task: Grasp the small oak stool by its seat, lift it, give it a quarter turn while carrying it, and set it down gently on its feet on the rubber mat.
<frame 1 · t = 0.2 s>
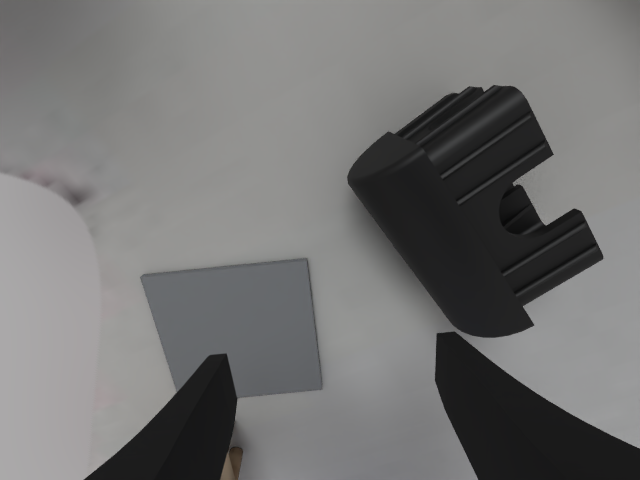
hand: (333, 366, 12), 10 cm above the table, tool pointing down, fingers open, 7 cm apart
mat: (239, 334, 24), on the table
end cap: (437, 195, 21), on the table
stool: (208, 437, 27), on the table
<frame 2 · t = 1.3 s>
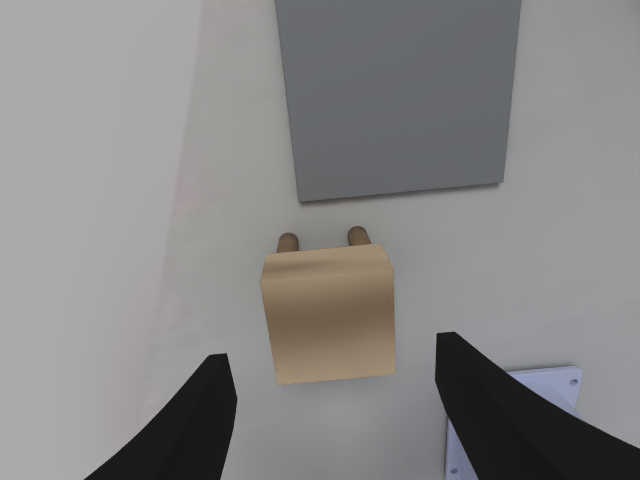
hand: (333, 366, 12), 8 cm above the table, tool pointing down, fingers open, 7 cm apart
mat: (397, 80, 16), on the table
stool: (325, 269, 19), on the table
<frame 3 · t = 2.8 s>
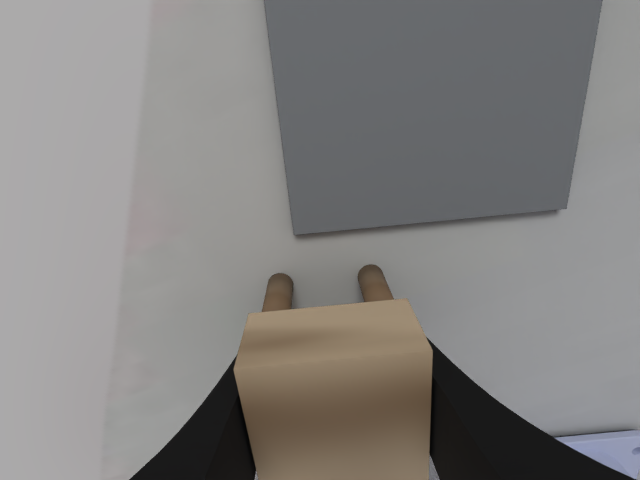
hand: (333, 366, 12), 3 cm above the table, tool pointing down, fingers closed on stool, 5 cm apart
mat: (429, 72, 12), on the table
stool: (329, 318, 15), on the table, touching gripper
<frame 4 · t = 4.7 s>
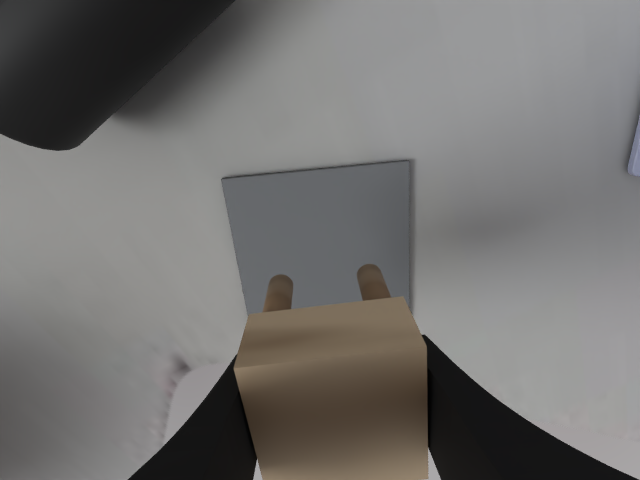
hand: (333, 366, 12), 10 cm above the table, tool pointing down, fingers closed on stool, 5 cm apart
mat: (323, 253, 21), on the table
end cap: (127, 12, 17), on the table
stool: (329, 317, 15), point 6 cm above the table, touching gripper
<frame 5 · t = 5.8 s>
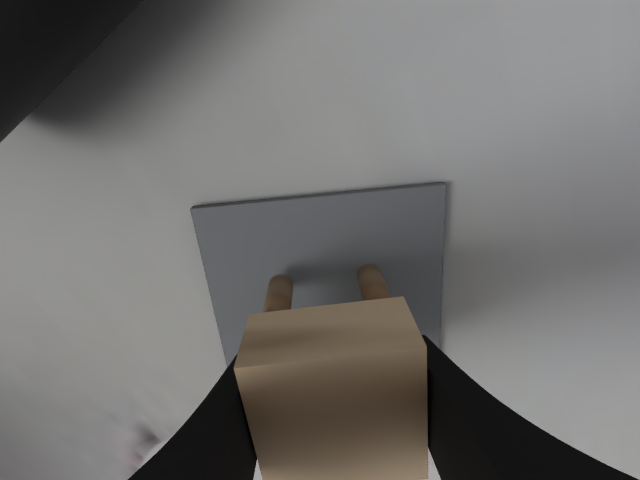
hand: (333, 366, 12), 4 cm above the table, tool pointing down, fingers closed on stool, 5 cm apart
mat: (327, 301, 16), on the table
stool: (329, 317, 15), point 1 cm above the table, touching gripper
when the fingers open (4 cm above the table, at t = 6.8 s): stool stays where it is, resting on mat.
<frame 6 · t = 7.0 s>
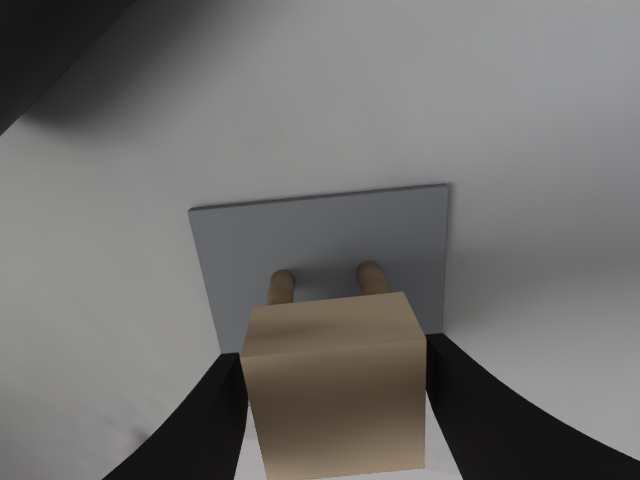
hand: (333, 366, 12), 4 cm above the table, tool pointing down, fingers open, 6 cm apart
mat: (327, 305, 16), on the table
stool: (329, 312, 16), resting on mat
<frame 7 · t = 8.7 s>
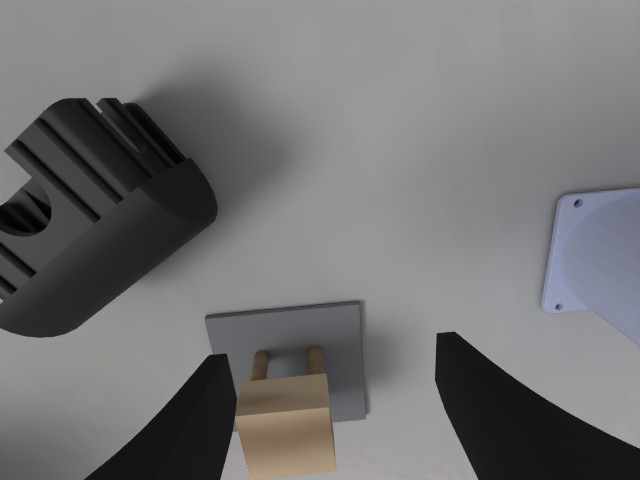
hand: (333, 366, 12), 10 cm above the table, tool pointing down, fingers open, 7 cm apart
mat: (291, 368, 25), on the table
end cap: (127, 200, 21), on the table
stool: (291, 374, 25), resting on mat
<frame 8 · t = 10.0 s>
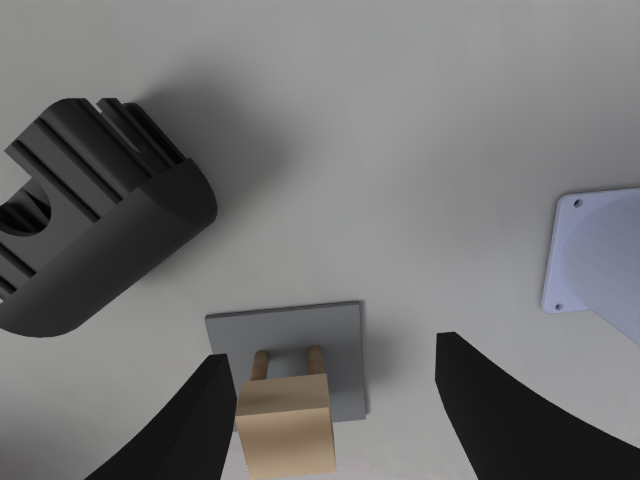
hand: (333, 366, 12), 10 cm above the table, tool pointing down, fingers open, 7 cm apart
mat: (291, 368, 25), on the table
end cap: (127, 200, 21), on the table
stool: (291, 374, 25), resting on mat
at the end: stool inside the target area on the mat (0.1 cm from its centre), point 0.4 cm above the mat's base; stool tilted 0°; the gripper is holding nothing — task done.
